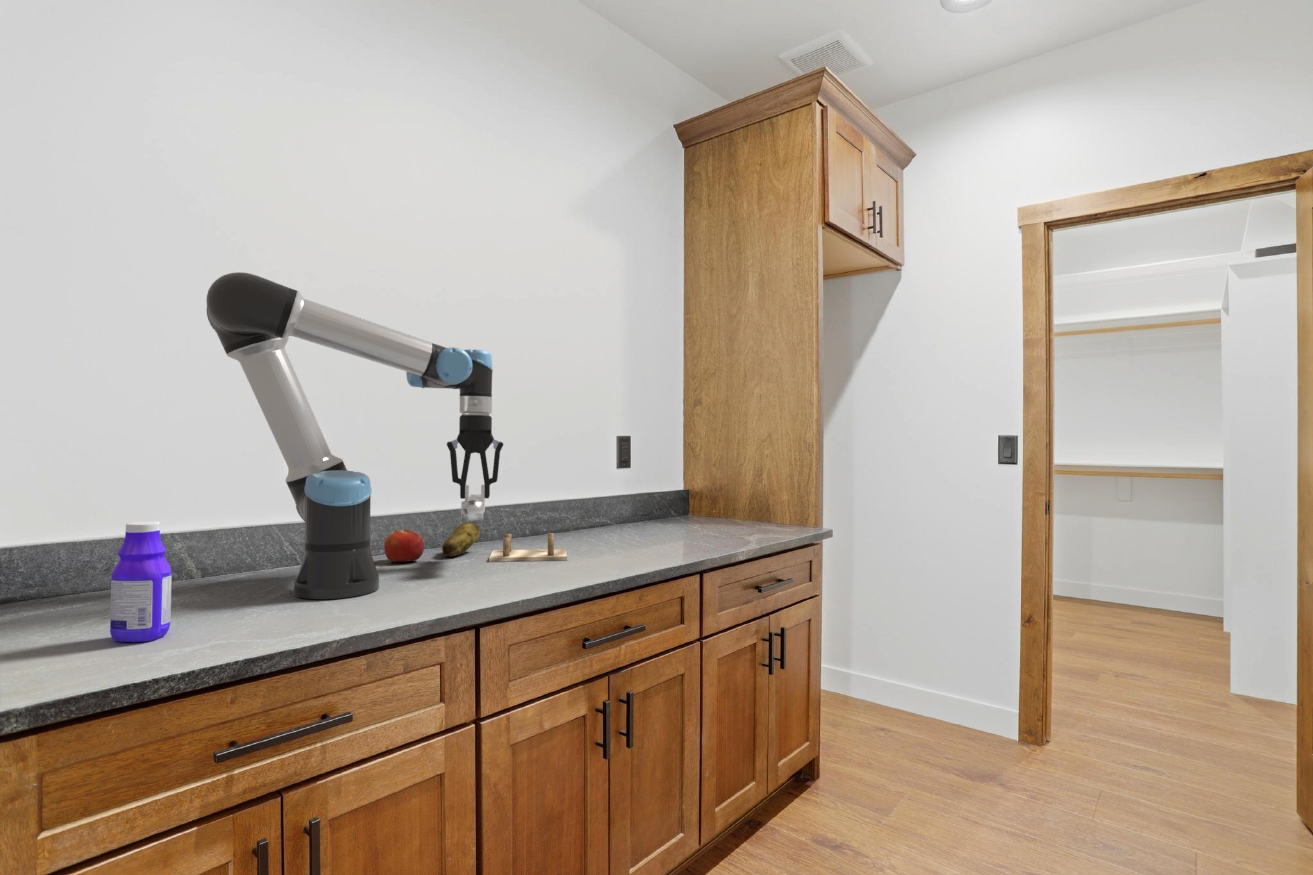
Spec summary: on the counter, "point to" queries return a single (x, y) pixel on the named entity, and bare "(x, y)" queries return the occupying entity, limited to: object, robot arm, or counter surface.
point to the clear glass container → (472, 508)
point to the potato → (461, 539)
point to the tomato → (403, 546)
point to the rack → (527, 552)
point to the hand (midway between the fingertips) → (474, 512)
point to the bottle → (141, 586)
